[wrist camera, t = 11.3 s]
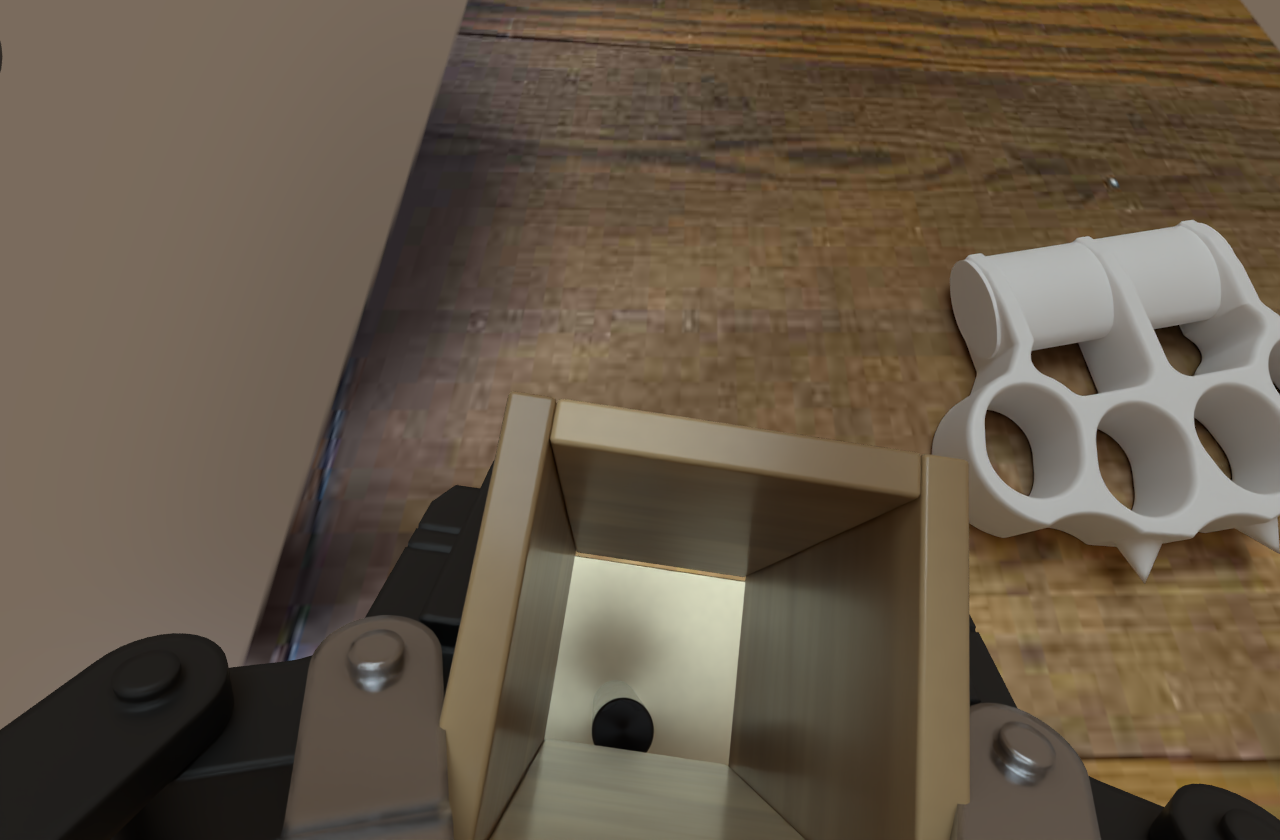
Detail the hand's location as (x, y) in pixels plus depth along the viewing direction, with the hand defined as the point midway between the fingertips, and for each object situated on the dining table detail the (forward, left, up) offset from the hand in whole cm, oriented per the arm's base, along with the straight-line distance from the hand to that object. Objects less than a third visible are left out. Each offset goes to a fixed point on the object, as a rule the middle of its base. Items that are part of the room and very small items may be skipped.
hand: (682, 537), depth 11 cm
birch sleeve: (0, -2, -5) cm, 5 cm away
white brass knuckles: (+20, +11, -18) cm, 29 cm away
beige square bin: (0, -4, -17) cm, 18 cm away
